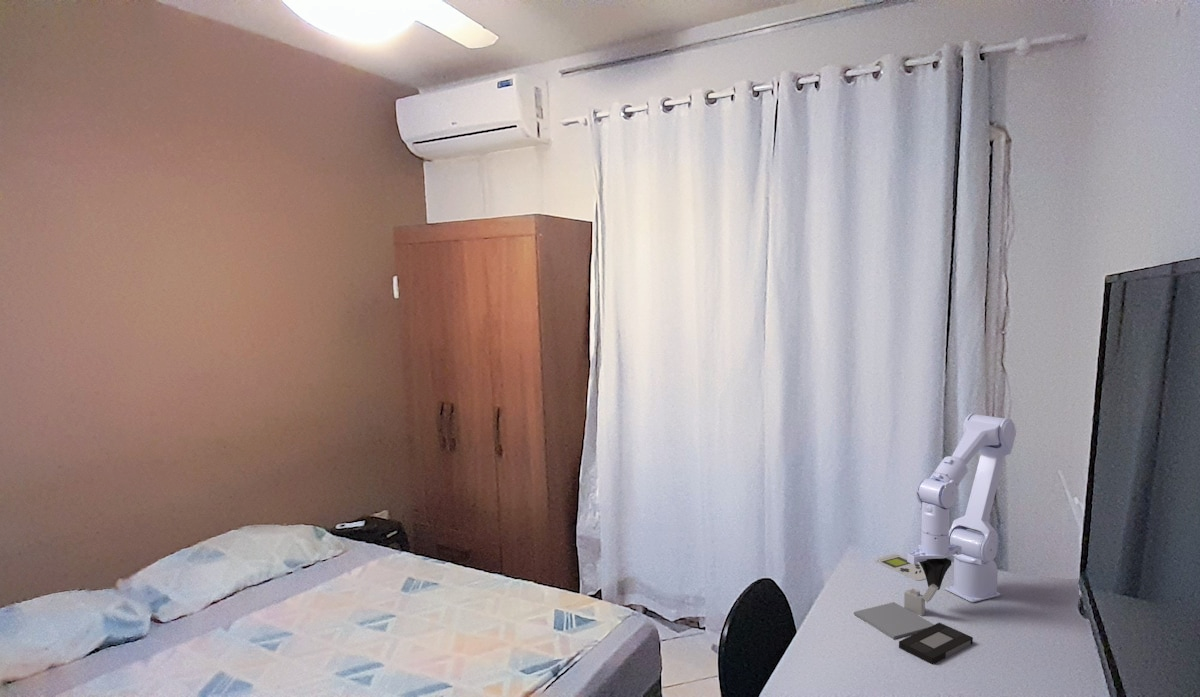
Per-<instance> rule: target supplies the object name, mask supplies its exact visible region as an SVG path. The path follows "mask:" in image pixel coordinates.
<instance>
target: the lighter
mask: <svg viewBox="0 0 1200 697" xmlns="http://www.w3.org/2000/svg"><path fill="white" fill-rule="evenodd" d="M938 588H939V587H937V586H936V585H935V584H931V585H930V586H929V587H928V588H927V589H926V591H925V592H924V594H921V593H920V592H921V590H919V589H915V588H909V589H908V590H906V591H904V595H903V596H904V597H903V598H904V600H903V602H904V603H903V607H904V608H906V609H907V610H909V611H911V612H913V613H915V614H916V615H918V616H920V617H923V616H924V615H925V613H926V603H929V602H930V601H931V600H932V598H933V597H934V595H935V594H936V593H937V591H938V590H937V589H938Z"/></svg>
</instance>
